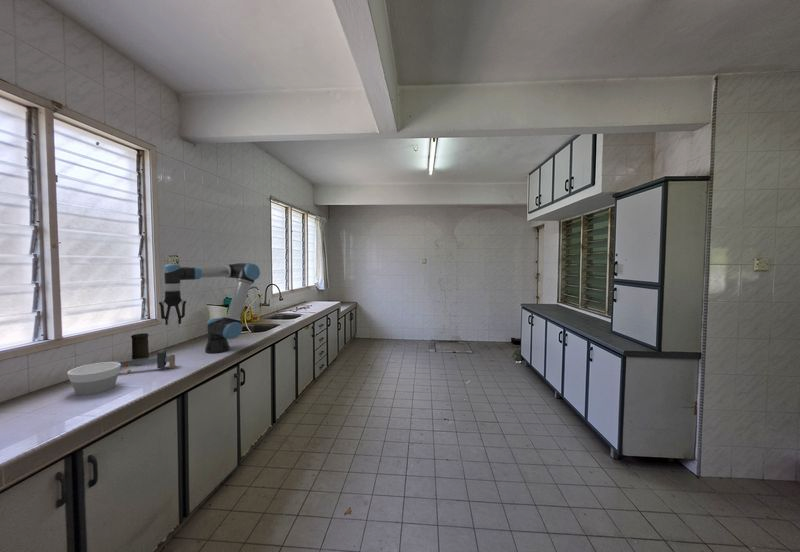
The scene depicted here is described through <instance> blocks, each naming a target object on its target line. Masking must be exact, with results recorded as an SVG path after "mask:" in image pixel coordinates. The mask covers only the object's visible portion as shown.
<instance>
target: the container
mask: <svg viewBox="0 0 800 552" xmlns="http://www.w3.org/2000/svg"><path fill="white" fill-rule="evenodd" d="M149 336H150V335H149V333H135V334H132V335H130V338H131V359H141V358H150V352H149V349H150V348H149ZM137 366H140V365H136V366H135V367H137Z"/></svg>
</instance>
